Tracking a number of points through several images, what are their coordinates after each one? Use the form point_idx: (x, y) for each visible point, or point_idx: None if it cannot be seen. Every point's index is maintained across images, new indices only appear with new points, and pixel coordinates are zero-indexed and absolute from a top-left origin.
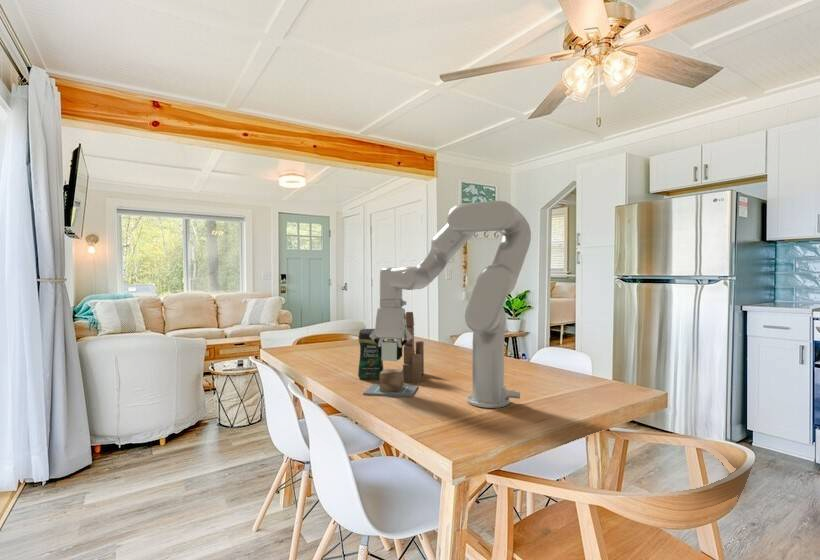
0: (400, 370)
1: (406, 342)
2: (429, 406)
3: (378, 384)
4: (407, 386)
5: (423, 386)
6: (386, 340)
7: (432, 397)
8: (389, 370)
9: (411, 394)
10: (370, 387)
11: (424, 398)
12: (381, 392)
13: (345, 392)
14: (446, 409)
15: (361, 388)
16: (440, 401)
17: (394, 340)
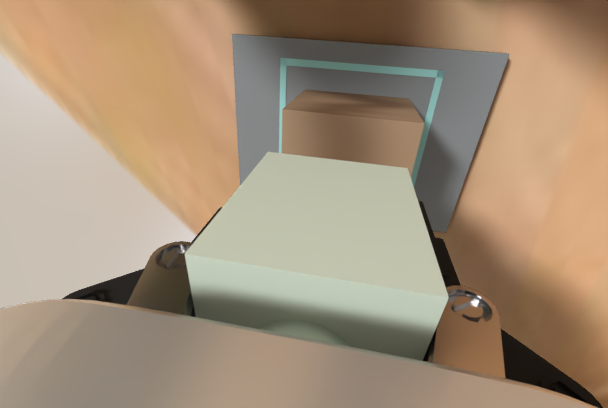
0: (405, 151)
1: (559, 382)
2: (499, 317)
3: (264, 51)
4: (436, 83)
5: (550, 19)
6: (214, 282)
7: (543, 229)
8: (326, 156)
9: (446, 220)
10: (242, 117)
11: (500, 241)
12: None
13: (166, 169)
14: (555, 343)
15: (200, 103)
16: (563, 275)
17: (347, 281)
